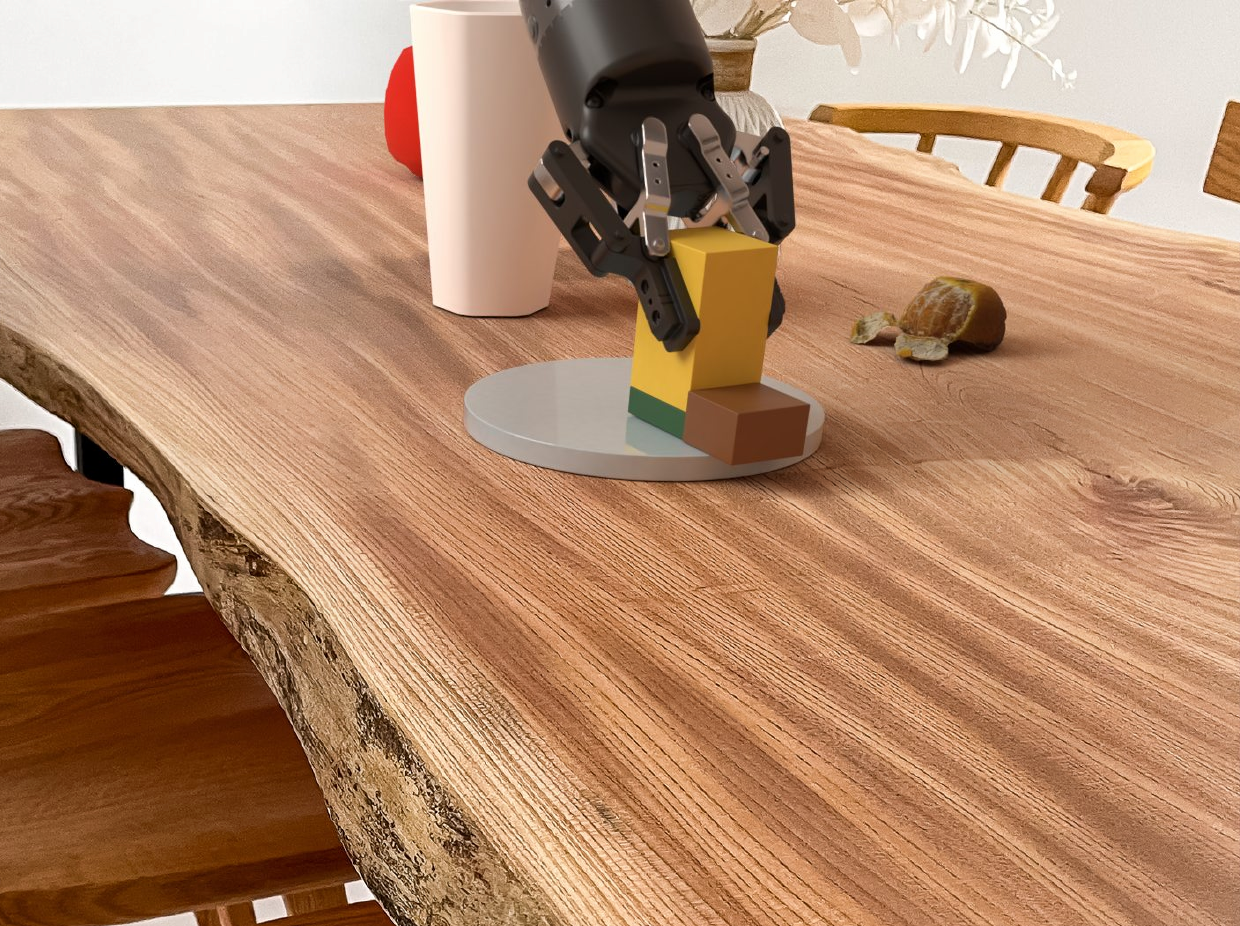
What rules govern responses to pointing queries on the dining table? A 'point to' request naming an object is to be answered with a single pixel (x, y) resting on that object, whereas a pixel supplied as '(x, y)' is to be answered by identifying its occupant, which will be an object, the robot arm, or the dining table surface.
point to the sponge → (707, 324)
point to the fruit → (941, 319)
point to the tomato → (403, 114)
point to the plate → (598, 424)
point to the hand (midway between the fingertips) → (726, 336)
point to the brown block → (746, 423)
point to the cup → (483, 156)
